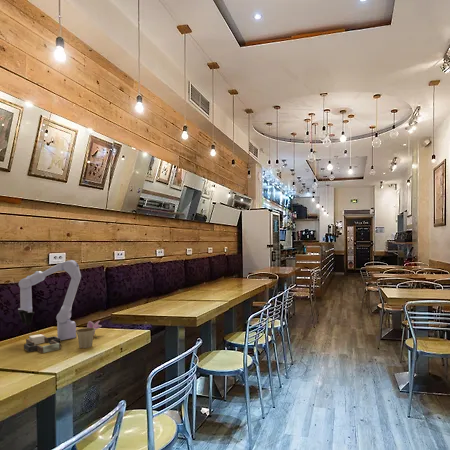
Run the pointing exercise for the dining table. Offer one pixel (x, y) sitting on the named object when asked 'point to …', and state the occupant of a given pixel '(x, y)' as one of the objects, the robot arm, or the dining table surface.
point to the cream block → (37, 339)
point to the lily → (93, 325)
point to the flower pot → (85, 337)
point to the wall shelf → (52, 340)
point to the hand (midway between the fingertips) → (26, 324)
